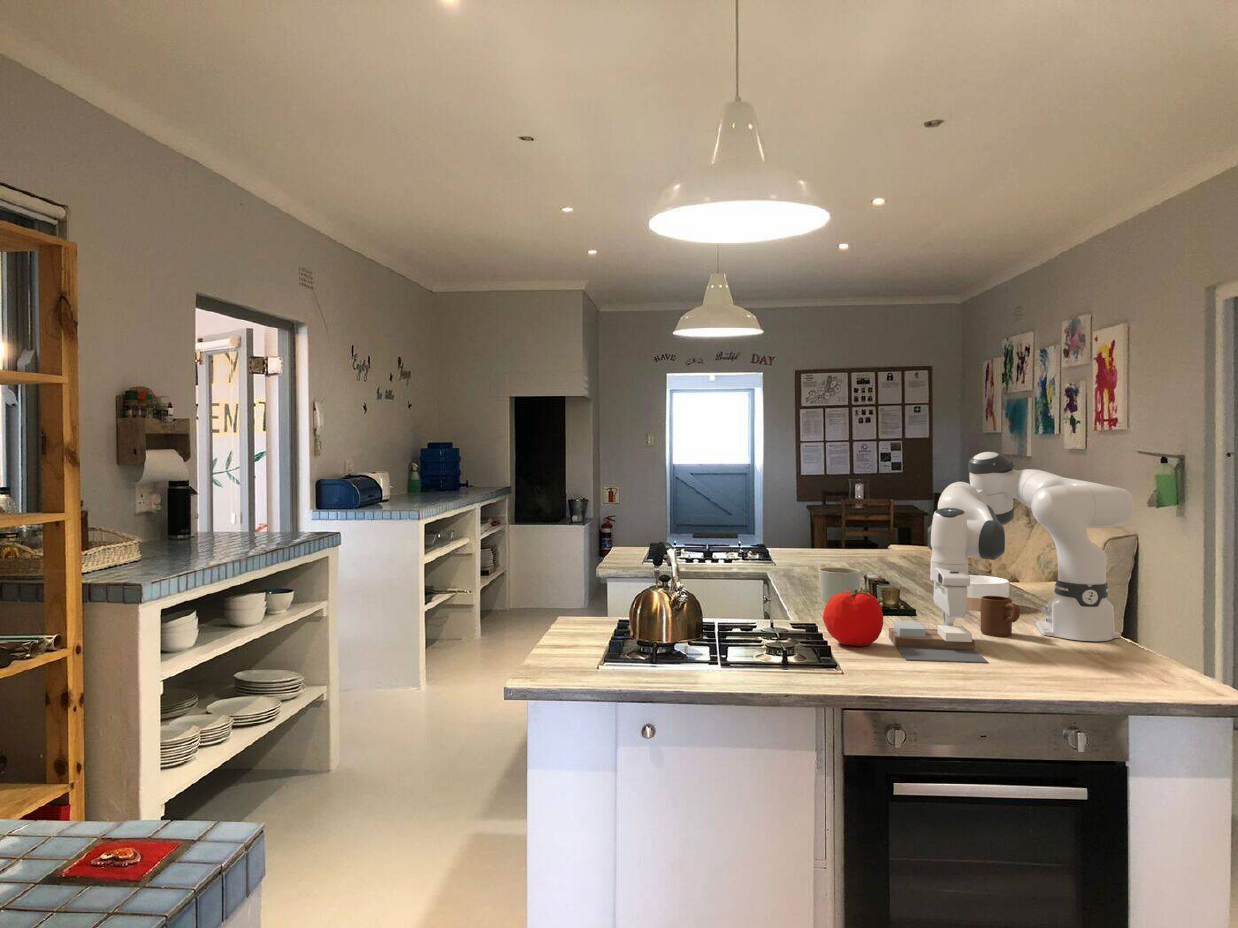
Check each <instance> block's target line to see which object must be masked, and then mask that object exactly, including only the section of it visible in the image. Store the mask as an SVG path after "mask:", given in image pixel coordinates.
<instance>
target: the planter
mask: <svg viewBox="0 0 1238 928" xmlns="http://www.w3.org/2000/svg"><path fill="white" fill-rule="evenodd" d="M861 572H862V571H861V570H860V569H857V568H852V567H843V566H842V567H841V566H840V567H839V566H835V567H834V566H833V567H822V568H819V570H818V577H819V578H818V580H819V590H820V591H819V592H820V598H821V600H822V602H824V603H825V605H826V604H827V603H828V601H829V600H830V598H832V597H833V596H834V595H837V594H840V593H842V592H846V591H850V592H851V591H854V590H855V589H857V590H858V592H859V591H861V590H860V588H861V576H862V575H861V574H862V573H861Z"/></svg>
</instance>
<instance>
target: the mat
mask: <svg viewBox="0 0 1238 928" xmlns="http://www.w3.org/2000/svg"><path fill="white" fill-rule="evenodd" d="M896 649H897V650H898V652H899V653H900V655H901V656H902V657H903V658H904V660H905V661H910V662H911V661H912V662H913V661H914V662H919V661H920V662H939V663H940V662H944V663H946V662H947V663H970V664H971V663H976V664H988V663H989V661H988V660H987V659H986V658H984V657H983V655H981V654H980V653H979V652H978V651H977V650H976V649H975V650H969V649H938V648H907V647H897V648H896Z"/></svg>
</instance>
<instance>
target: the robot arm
mask: <svg viewBox="0 0 1238 928" xmlns="http://www.w3.org/2000/svg"><path fill="white" fill-rule="evenodd" d="M967 465H968V466H967V469H968V470H967V471H968V472H969V482H965V481H956V482H953V483H950V484H949V485H948V486H947V487H945V488H944V490H943V491H942V492H941V494H940V495H939V499H938V502H937V509H935V511H934V513H933V515H932V522H931V525H930V526H929V527H927V548H928V549H929V550H930V551H931V557H930V571H929V572H930V575H929V576H930V581H933V597H932V598H933V603H934V604H935V605H936V606H937V607H938V608H939V609H941V614H942V620H943V623H942V624H943V625H944V626H954V622H955V619H956V618H958V619H960V618H961V619H963V618H965V616H966V613H967V610H966V607H967V595H968V589H967V586H970V577H969V575H970V574H969V559H968V558H972V559H983V560H990V561H995V560H997V559H999V558H1000V557H1001V556H1003V555H1004V553H1005V552H1006V549H1007V543H1008V542H1007V541H1008V537H1007V533H1006V529H1005V528H1004V526H1005V525H1007V524H1009V523H1010V522H1011V521H1012V520H1013V519H1014V518H1015V517H1014V516H1015V507H1014V499H1015V500H1017V501H1018V502H1020V503H1021V504H1023V505H1024V506H1026V507H1028V508H1029V509H1031V514H1032V516H1033V517H1034V520H1035V521H1036V522H1037V523H1038V524H1039V525H1041V526H1042V527H1043V528H1044V529H1045V530H1046V531H1047V532H1048V534H1049V535H1050V537H1051V538H1052V541H1053V542H1054V545H1055V548H1056V549H1055V550H1056V556H1057V557H1056V558H1057V579H1056V580H1055V584H1054V595H1053V596H1052V597H1051V598H1050V600H1049V601H1048V603H1047V604H1046V605H1045V606H1041V607H1040V608H1041V609H1040V615H1041V616H1043V617H1044V619H1045V620H1036V622H1035V625H1036V627H1037V628H1038V631H1040V633H1041V635H1043V636H1049V637H1056V638H1060V639H1067V640H1072V641H1073V640H1074V641H1082V642H1083V641H1084V642H1108V641H1111V640H1113V639H1119V638H1121V633H1120V632H1118V631H1115V615H1114V606H1113V604H1112V603H1111V602H1109V600H1108V599H1107V598H1108V596H1109V585H1108V582H1107V555H1106V552H1105V551H1104V550H1103V548H1102V547H1100V546H1099V545H1097V544H1095V543H1094V542H1092V541H1091V540H1090V538H1089V536H1088V532H1087V529H1109V528H1113V527H1120V526H1123V525H1127V524H1128V523H1129V522H1130V521H1131V520H1132V518H1133V516H1134V514H1135V509H1136V506H1135V501H1134V498H1133V495H1132V494H1131V493H1130V492H1129V490H1127V489H1126V488H1123V487H1122V488H1121V487H1116V486H1111V485H1107V484H1106V485H1105V484H1102V483H1097V482H1091V481H1086V480H1081V479H1075V478H1074V479H1073V478H1067V477H1064V476H1062V475H1058V474H1055V473H1051V472H1048V471H1045V470H1041V469H1032V468H1031V469H1030V468H1029V469H1028V468H1025V469H1021V470H1017V469H1014V467H1015V465H1016V464H1015V462H1013V461H1010V460H1009V459H1008V458H1007V457H1006V456H1005V455H1003V454H1001V453H999V452H996V451H994V452H993V451H984V452H979V453H978V454H975V455H974V456H972V457H971V458H970V459H969V460H968V464H967ZM1003 525H1004V526H1003Z"/></svg>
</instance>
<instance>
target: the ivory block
mask: <svg viewBox="0 0 1238 928" xmlns="http://www.w3.org/2000/svg"><path fill="white" fill-rule="evenodd" d="M937 629H938V634H939V635H940V636H941V637H942V638H943V639H944V640H945V641H956V642H972V639H973V634H972V632H970V631H969V630H968V629H967V628H966V627H965V626H963V625H953V626H944V625H941V624H940V625H939V624H938V625H937Z"/></svg>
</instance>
